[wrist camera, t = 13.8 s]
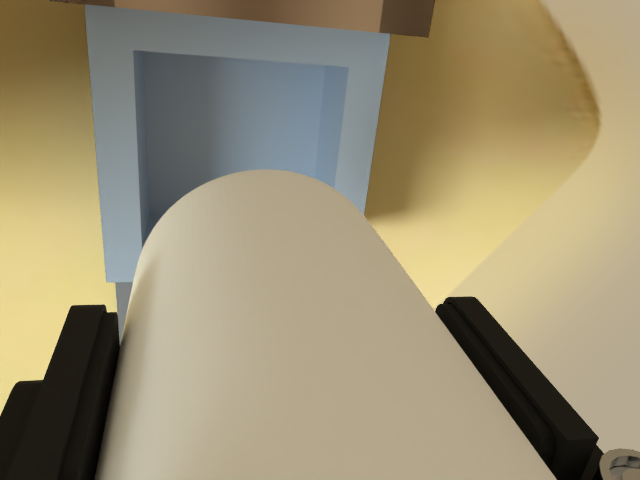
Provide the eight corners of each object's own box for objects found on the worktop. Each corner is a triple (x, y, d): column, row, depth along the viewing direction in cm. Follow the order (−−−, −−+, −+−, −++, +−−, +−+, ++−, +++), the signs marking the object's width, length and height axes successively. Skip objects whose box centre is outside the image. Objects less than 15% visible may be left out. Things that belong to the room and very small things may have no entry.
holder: (121, 230, 27) (106, 282, 23) (106, -6, 22) (83, -1, 18) (330, 232, 30) (354, 278, 25) (355, 20, 25) (391, 30, 20)
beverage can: (309, 383, 16) (523, 1120, 6) (103, 329, 14) (-164, 1396, 3) (411, 210, 14) (1005, 841, 4) (192, 114, 12) (194, 1042, 2)
